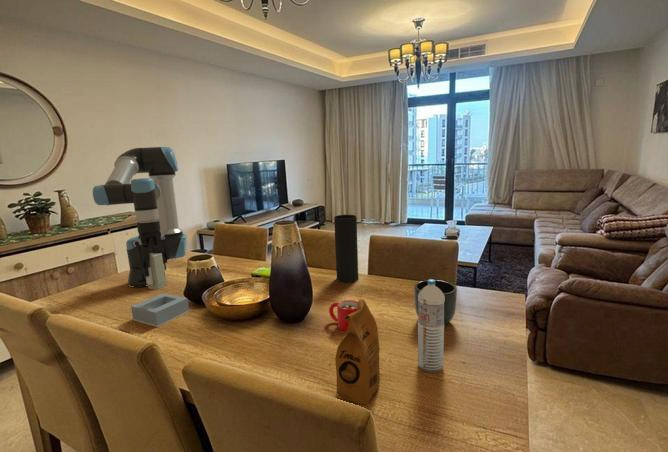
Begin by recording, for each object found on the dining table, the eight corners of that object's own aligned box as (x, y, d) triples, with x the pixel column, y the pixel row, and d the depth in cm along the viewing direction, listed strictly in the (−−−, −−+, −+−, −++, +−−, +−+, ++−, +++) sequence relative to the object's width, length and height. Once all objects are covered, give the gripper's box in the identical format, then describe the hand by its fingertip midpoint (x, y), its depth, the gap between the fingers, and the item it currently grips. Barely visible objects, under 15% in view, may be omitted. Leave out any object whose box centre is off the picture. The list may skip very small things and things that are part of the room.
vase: (358, 282, 168) (356, 218, 162) (336, 283, 168) (334, 219, 162) (357, 275, 178) (355, 214, 172) (336, 276, 178) (334, 215, 172)
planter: (411, 328, 123) (411, 292, 120) (417, 311, 136) (417, 278, 133) (455, 334, 118) (456, 296, 116) (456, 315, 131) (457, 281, 128)
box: (167, 285, 140) (162, 253, 138) (158, 289, 136) (153, 256, 134) (156, 284, 142) (152, 252, 139) (147, 288, 138) (142, 255, 135)
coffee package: (330, 398, 90) (326, 314, 86) (350, 371, 101) (348, 295, 96) (368, 409, 86) (365, 322, 81) (385, 379, 96) (384, 300, 92)
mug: (335, 317, 134) (334, 296, 133) (364, 323, 128) (364, 302, 127) (323, 326, 128) (322, 304, 126) (354, 333, 122) (353, 311, 120)
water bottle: (414, 360, 104) (414, 276, 99) (438, 358, 105) (439, 275, 100) (422, 374, 98) (422, 285, 93) (447, 372, 98) (449, 283, 93)
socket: (165, 306, 151) (163, 293, 150) (189, 311, 144) (187, 298, 143) (133, 320, 139) (131, 306, 138) (157, 327, 132) (155, 312, 131)
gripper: (162, 216, 143) (170, 273, 148) (117, 224, 128) (127, 288, 132) (175, 217, 140) (182, 275, 144) (131, 226, 125) (141, 291, 129)
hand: (156, 281), depth 138 cm, fingers closed on box, 5 cm apart
